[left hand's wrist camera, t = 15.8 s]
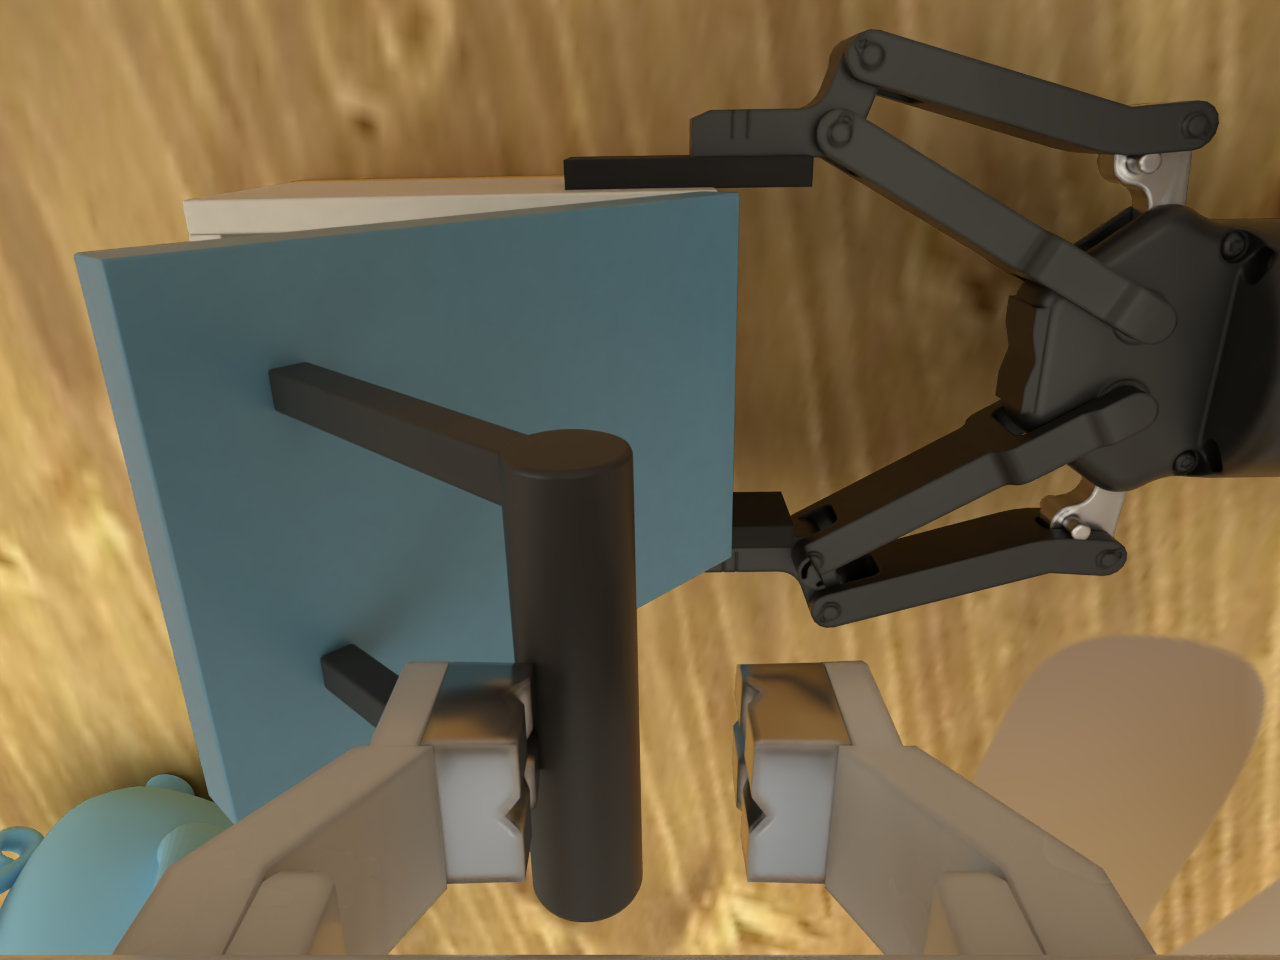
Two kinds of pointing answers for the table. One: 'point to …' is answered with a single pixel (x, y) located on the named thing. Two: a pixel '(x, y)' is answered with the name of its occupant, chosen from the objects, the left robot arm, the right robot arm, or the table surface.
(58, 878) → the teapot
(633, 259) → the lid
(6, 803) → the table surface
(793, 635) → the table surface
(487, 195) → the chest
